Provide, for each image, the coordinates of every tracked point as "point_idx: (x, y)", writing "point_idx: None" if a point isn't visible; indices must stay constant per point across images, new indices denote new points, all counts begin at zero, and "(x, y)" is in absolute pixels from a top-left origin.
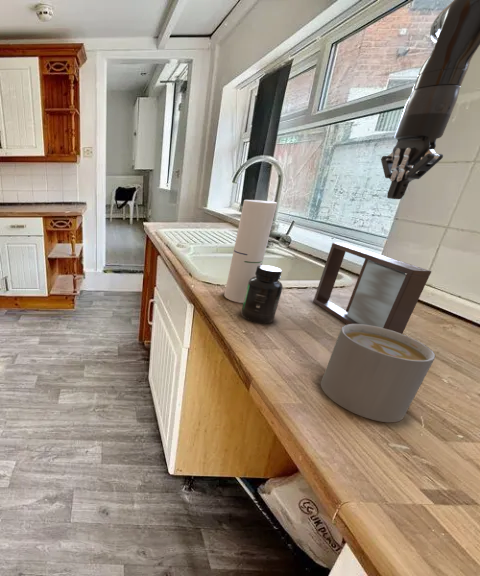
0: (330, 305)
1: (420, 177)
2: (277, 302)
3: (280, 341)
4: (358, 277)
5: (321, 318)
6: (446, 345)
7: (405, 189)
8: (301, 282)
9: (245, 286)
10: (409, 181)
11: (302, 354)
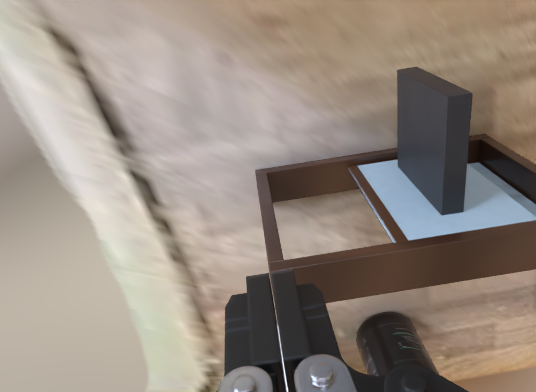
0: (305, 184)
1: (436, 375)
2: (423, 348)
3: (471, 316)
4: (378, 217)
5: (365, 219)
6: (472, 2)
7: (330, 323)
8: (81, 170)
9: None
10: (353, 372)
11: (509, 298)
